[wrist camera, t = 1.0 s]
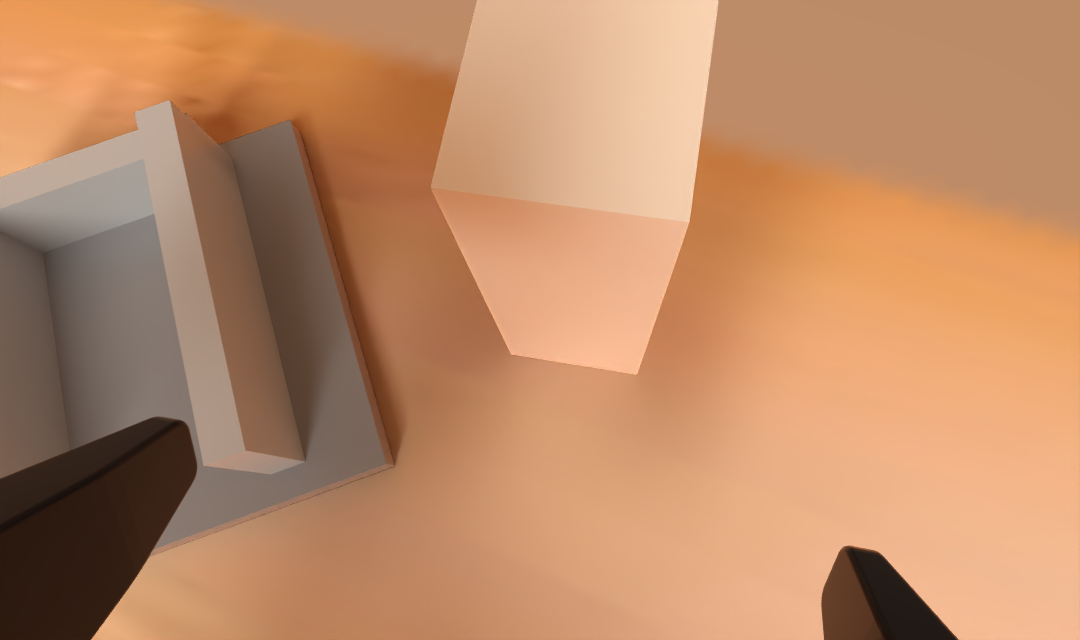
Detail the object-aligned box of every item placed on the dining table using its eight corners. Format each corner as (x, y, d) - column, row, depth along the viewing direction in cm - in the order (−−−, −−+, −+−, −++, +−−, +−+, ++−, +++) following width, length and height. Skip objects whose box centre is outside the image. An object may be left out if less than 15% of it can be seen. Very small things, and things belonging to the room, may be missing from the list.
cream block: (637, 375, 23) (689, 222, 11) (510, 354, 24) (430, 187, 12) (656, 243, 24) (721, -20, 12) (536, 226, 25) (487, -42, 13)
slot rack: (394, 466, 23) (343, 453, 18) (1, 610, 22) (-161, 637, 17) (300, 133, 27) (237, 50, 22) (-34, 250, 26) (-173, 191, 21)
